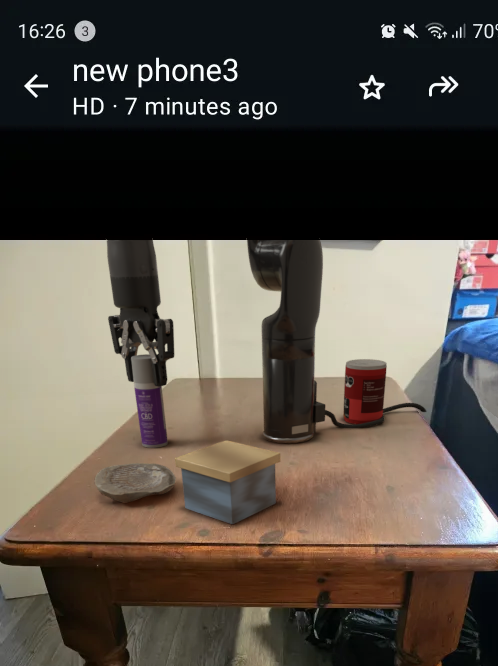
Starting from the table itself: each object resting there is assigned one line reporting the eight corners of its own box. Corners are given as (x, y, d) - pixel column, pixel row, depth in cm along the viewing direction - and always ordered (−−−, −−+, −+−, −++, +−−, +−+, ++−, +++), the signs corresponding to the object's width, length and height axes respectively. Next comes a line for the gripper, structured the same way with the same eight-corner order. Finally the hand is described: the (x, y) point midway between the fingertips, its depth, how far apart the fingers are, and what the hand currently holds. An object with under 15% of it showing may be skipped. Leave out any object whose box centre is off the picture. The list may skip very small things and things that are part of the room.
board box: (229, 487, 87) (226, 439, 83) (281, 503, 82) (280, 452, 78) (179, 508, 81) (174, 457, 77) (232, 527, 75) (229, 473, 71)
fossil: (182, 505, 83) (181, 487, 82) (99, 513, 80) (97, 495, 79) (170, 476, 91) (169, 459, 90) (94, 482, 88) (91, 464, 87)
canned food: (350, 413, 122) (353, 358, 116) (387, 417, 119) (392, 360, 113) (337, 422, 116) (339, 364, 111) (375, 427, 113) (380, 367, 108)
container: (143, 449, 104) (131, 359, 96) (141, 441, 108) (129, 355, 100) (169, 446, 105) (159, 357, 97) (166, 439, 109) (156, 353, 101)
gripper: (182, 272, 91) (191, 384, 99) (124, 271, 98) (137, 375, 107) (145, 275, 86) (158, 392, 94) (86, 273, 94) (104, 382, 102)
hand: (147, 383), depth 101 cm, fingers open, 6 cm apart
